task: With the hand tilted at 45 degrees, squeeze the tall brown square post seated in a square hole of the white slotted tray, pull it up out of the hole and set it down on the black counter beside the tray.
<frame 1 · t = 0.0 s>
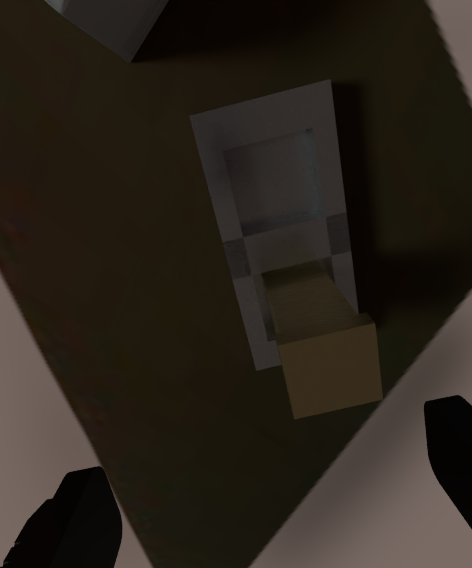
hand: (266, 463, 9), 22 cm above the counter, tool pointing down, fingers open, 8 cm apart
brown square post: (293, 290, 31), point 1 cm above the counter, touching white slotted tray
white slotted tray: (281, 235, 30), on the counter
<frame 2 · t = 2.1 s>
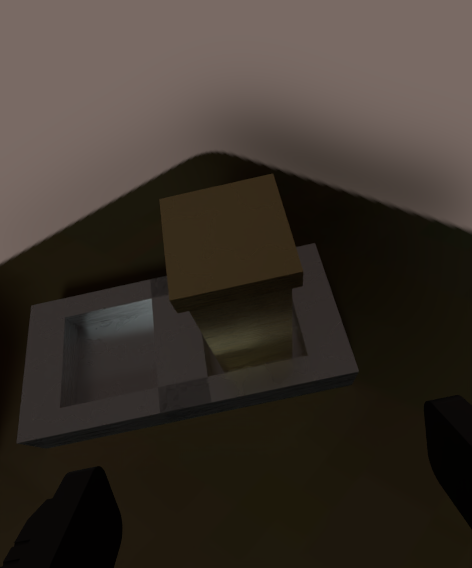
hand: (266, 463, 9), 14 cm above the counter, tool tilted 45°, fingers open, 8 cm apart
brown square post: (251, 331, 25), point 1 cm above the counter, touching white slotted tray
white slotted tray: (189, 350, 26), on the counter
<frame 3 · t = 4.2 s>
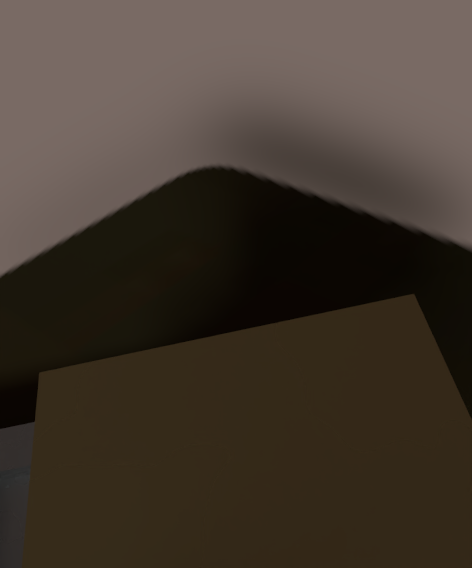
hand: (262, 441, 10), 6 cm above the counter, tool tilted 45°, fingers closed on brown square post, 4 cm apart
brown square post: (284, 513, 14), point 1 cm above the counter, touching gripper, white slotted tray
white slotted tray: (169, 534, 15), on the counter
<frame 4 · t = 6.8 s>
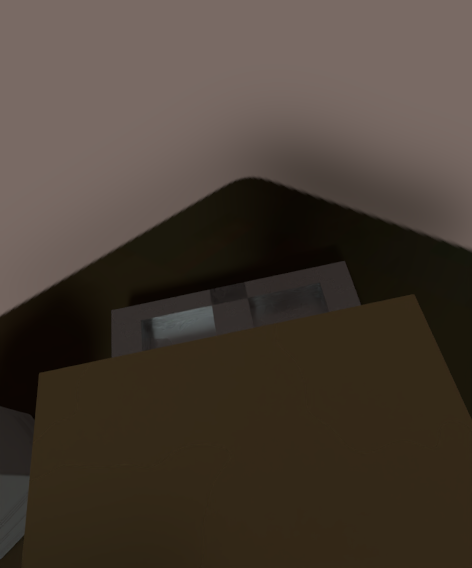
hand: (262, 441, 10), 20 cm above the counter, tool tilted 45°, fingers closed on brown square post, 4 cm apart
brown square post: (284, 513, 14), point 15 cm above the counter, touching gripper
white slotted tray: (240, 348, 32), on the counter
supplement box: (18, 481, 30), on the counter
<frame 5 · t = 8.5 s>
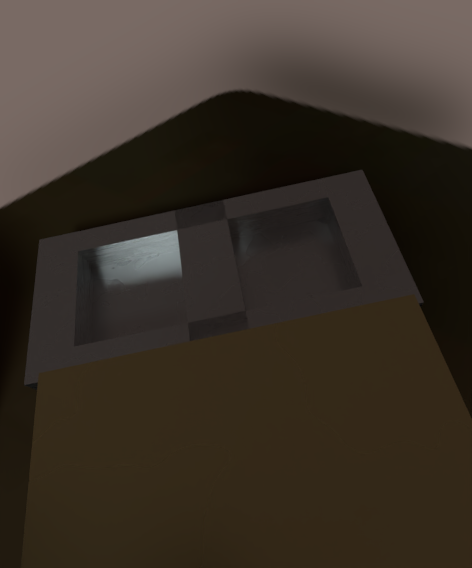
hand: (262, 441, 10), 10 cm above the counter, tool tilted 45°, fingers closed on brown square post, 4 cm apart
brown square post: (284, 513, 14), point 5 cm above the counter, touching gripper
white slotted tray: (217, 292, 23), on the counter
when the fingers open (6 cm above the counter, at t = 9.7 s): brown square post stays where it is, on the counter.
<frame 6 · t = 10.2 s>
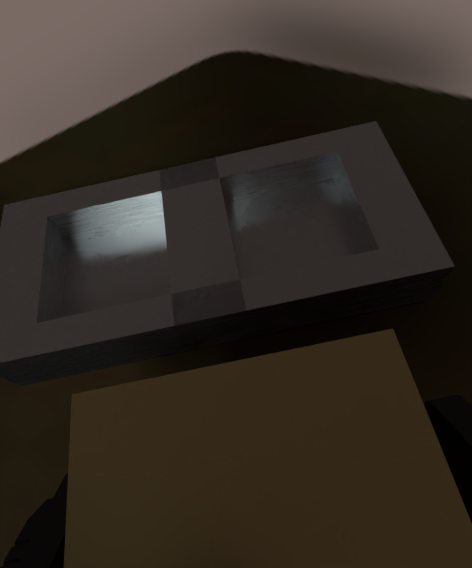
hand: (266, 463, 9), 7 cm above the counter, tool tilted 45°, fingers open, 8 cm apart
brown square post: (283, 514, 14), on the counter
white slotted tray: (209, 264, 20), on the counter
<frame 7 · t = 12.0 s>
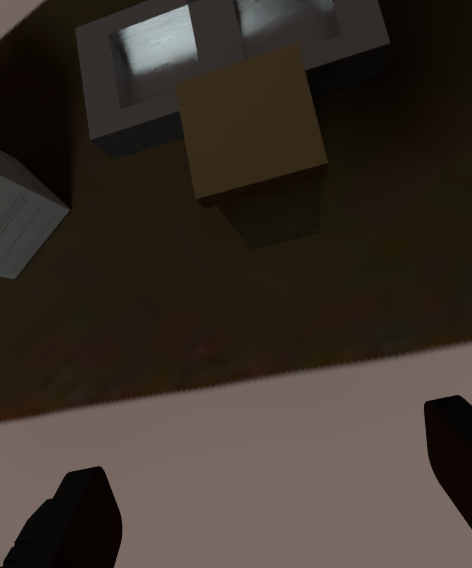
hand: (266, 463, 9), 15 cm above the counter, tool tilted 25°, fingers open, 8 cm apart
brown square post: (277, 210, 26), on the counter
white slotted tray: (227, 66, 28), on the counter
supplement box: (17, 219, 30), on the counter
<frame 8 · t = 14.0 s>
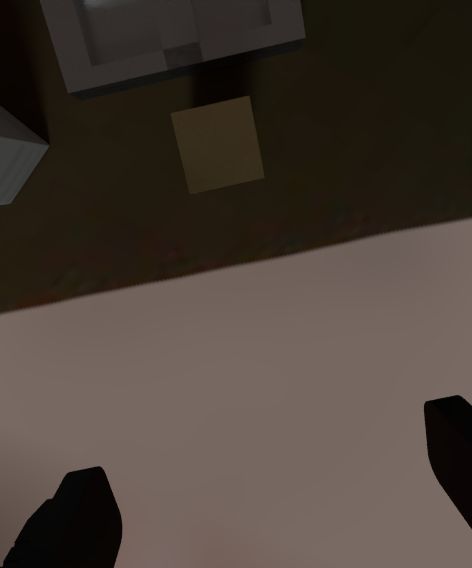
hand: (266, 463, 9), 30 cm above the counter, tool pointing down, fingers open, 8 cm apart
brown square post: (220, 155, 36), on the counter
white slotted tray: (176, 18, 33), on the counter
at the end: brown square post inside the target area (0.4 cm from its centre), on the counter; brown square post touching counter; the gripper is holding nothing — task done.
